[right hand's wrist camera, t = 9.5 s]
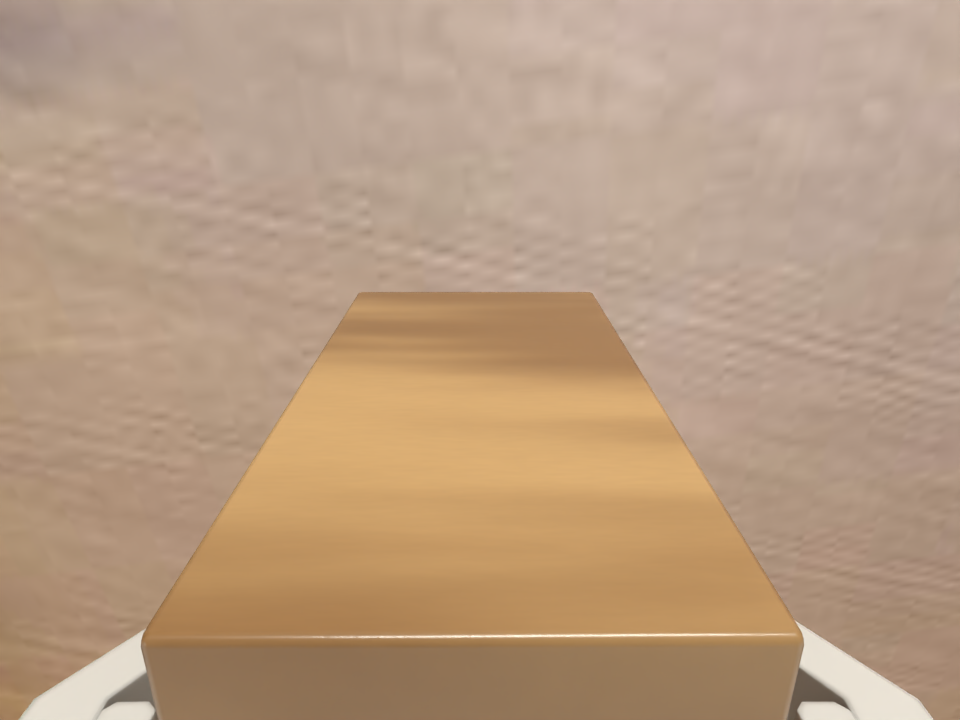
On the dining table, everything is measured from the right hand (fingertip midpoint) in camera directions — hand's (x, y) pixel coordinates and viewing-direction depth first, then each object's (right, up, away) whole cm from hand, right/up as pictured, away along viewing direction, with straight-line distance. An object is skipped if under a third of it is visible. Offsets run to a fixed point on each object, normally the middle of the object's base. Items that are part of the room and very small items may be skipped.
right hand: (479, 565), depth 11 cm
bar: (0, -7, +7) cm, 10 cm away
